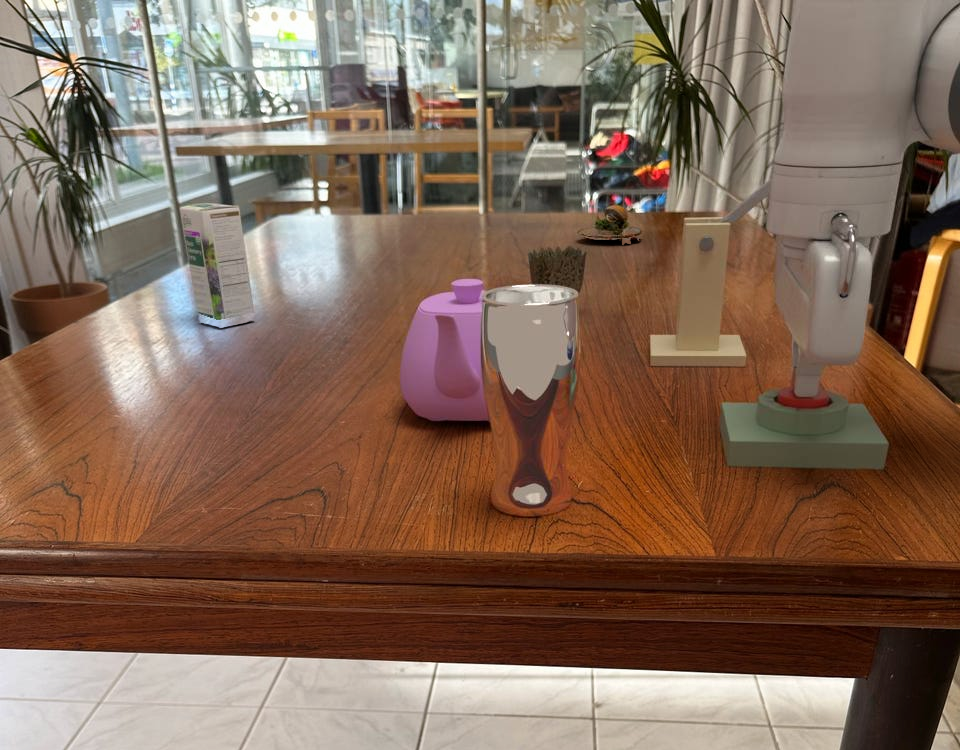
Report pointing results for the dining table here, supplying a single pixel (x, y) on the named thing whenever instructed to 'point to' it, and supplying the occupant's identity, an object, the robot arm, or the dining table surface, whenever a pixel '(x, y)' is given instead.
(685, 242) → the bracket
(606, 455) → the dining table surface
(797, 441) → the button box
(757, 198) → the lever
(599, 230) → the moss table decoration
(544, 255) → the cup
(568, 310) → the beer glass
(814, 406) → the button
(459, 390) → the teapot
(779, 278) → the robot arm
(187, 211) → the syrup box
